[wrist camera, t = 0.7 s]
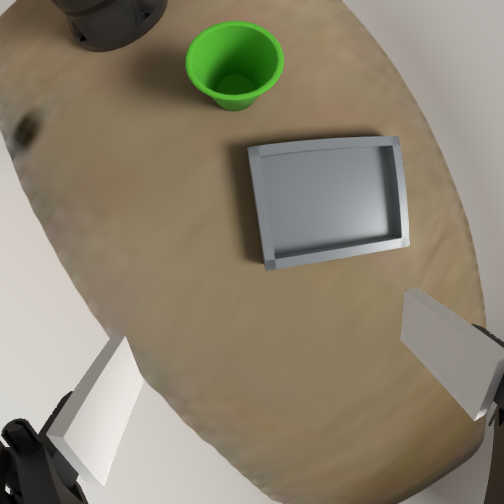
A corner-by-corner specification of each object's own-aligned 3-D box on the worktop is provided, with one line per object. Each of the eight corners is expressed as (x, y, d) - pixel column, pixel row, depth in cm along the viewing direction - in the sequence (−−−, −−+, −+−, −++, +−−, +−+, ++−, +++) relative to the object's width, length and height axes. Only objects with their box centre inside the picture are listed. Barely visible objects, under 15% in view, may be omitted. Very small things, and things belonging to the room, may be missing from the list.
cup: (235, 51, 31) (235, 6, 20) (285, 94, 33) (304, 60, 22) (184, 95, 32) (165, 60, 21) (234, 140, 34) (233, 119, 23)
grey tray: (246, 150, 34) (247, 147, 31) (387, 139, 34) (398, 136, 31) (264, 264, 37) (266, 270, 34) (398, 241, 37) (409, 245, 35)
